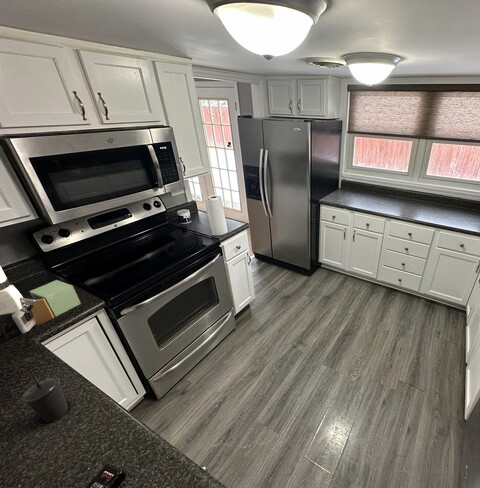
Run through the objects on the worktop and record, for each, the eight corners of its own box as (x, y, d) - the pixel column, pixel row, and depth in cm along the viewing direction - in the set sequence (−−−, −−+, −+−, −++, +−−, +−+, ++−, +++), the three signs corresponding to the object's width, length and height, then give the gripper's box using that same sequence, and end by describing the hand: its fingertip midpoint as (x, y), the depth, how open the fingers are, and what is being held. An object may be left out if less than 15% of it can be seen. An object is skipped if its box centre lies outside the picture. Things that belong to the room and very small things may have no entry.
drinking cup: (73, 424, 80) (44, 377, 72) (39, 438, 76) (4, 390, 68) (79, 403, 86) (53, 358, 78) (48, 415, 82) (17, 369, 74)
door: (47, 333, 112) (34, 309, 107) (10, 340, 108) (-6, 316, 103) (56, 321, 119) (44, 298, 113) (21, 327, 114) (7, 304, 109)
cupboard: (57, 321, 119) (45, 297, 113) (41, 314, 123) (29, 291, 117) (82, 307, 127) (72, 285, 122) (67, 301, 131) (56, 279, 125)
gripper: (-48, 296, 92) (-23, 334, 99) (20, 286, 99) (38, 322, 106) (-32, 285, 98) (-10, 321, 105) (30, 277, 105) (47, 311, 112)
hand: (14, 322), depth 105 cm, fingers open, 9 cm apart
